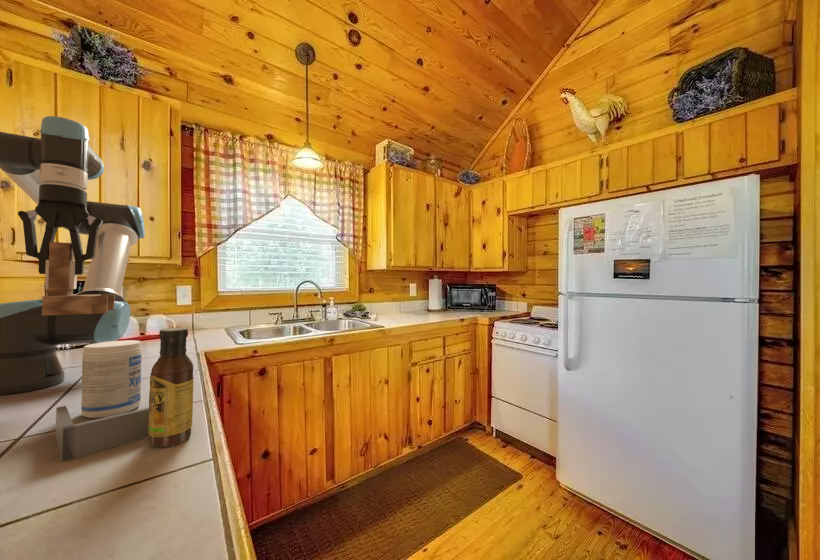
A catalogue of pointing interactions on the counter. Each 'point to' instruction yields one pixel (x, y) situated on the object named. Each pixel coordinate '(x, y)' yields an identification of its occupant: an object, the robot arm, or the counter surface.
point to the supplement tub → (111, 378)
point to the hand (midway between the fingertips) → (61, 288)
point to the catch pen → (98, 432)
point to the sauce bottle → (171, 391)
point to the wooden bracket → (58, 287)
